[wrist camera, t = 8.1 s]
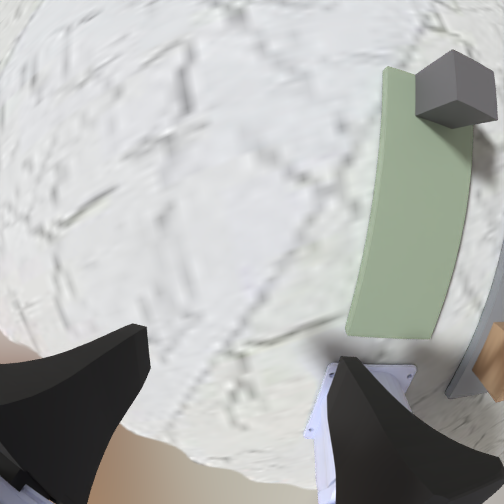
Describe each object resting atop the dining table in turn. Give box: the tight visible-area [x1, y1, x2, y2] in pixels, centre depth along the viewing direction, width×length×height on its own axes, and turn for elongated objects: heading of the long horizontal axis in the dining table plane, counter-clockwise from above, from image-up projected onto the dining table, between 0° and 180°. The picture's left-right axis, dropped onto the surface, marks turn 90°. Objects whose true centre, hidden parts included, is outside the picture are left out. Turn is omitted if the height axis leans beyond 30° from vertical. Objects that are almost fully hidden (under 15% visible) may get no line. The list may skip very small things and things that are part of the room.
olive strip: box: [345, 49, 498, 339], centre depth 13 cm, size 18×7×6 cm, turn 174°
